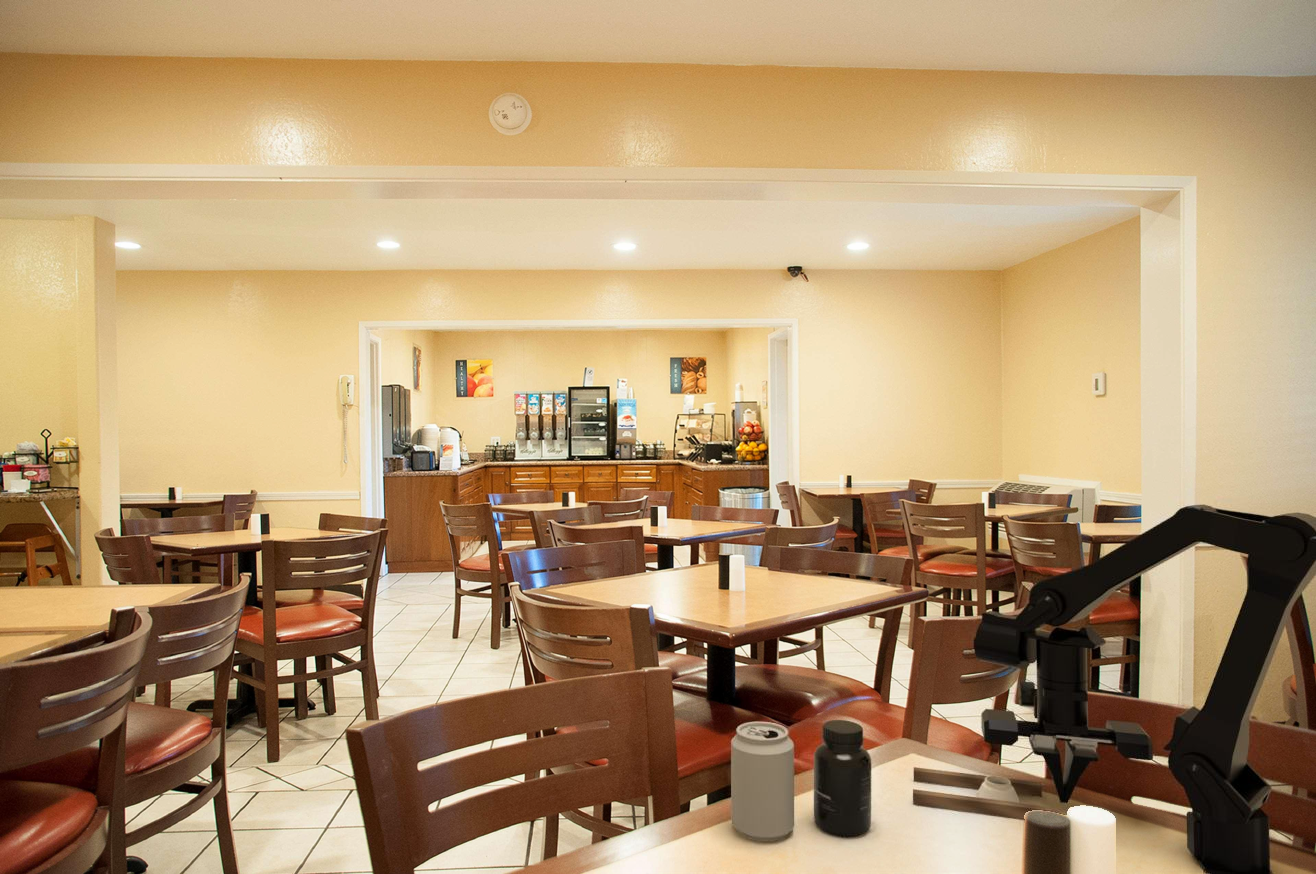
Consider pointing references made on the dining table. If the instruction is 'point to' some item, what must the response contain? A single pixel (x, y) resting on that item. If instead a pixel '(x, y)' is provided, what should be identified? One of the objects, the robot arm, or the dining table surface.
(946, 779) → the chute
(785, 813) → the can
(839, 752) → the supplement bottle
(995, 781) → the lidless jar
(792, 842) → the dining table surface
